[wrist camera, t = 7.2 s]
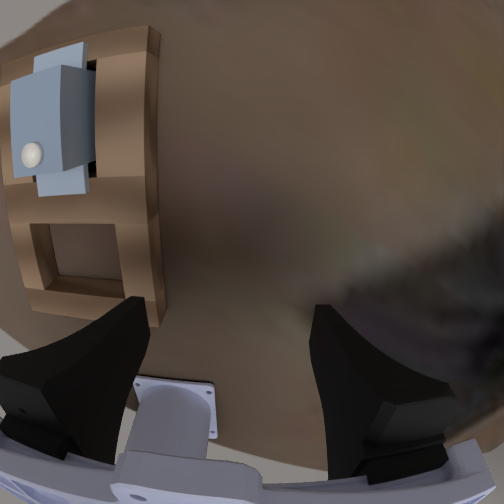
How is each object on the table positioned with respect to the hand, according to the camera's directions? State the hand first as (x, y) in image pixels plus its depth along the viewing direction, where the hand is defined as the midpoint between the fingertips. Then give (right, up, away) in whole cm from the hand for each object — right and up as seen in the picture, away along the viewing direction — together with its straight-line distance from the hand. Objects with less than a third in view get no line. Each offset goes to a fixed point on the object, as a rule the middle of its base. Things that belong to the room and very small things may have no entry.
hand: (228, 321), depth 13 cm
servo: (-11, +12, +5) cm, 17 cm away
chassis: (-11, +8, +7) cm, 15 cm away
